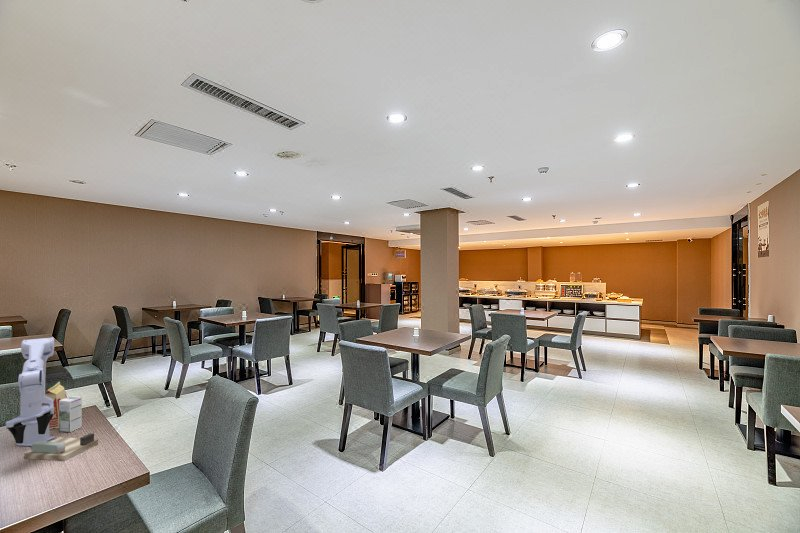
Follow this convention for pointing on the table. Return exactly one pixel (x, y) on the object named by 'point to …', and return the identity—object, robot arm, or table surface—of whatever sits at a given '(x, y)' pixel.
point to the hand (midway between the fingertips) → (30, 438)
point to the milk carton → (55, 403)
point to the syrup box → (70, 414)
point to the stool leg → (48, 447)
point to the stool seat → (71, 448)
